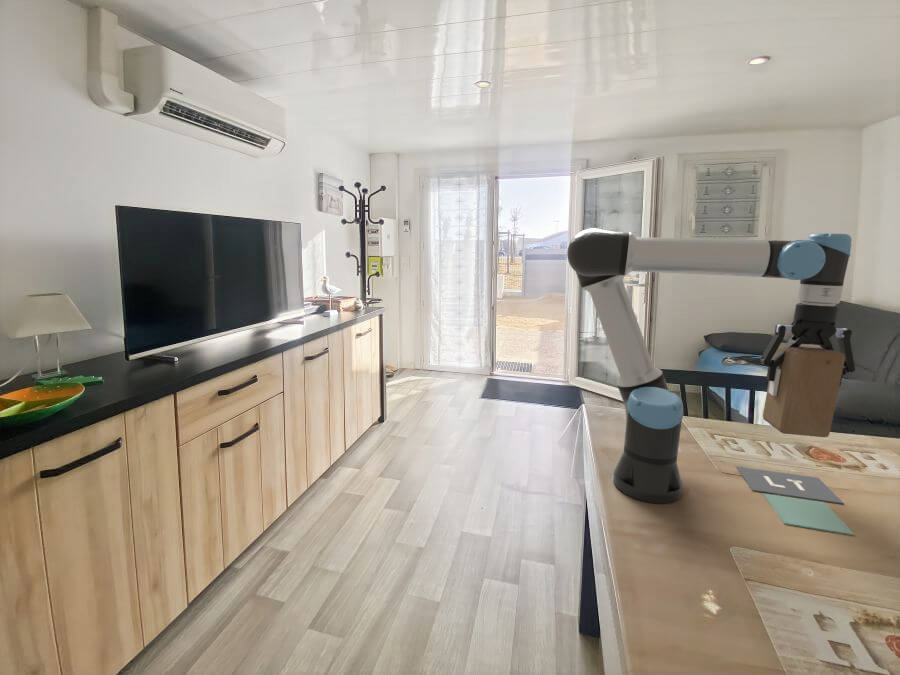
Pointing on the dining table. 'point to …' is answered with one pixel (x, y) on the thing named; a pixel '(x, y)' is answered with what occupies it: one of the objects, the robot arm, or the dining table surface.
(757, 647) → the dining table surface
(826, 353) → the wooden block
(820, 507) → the pad
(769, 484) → the mat
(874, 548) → the dining table surface
